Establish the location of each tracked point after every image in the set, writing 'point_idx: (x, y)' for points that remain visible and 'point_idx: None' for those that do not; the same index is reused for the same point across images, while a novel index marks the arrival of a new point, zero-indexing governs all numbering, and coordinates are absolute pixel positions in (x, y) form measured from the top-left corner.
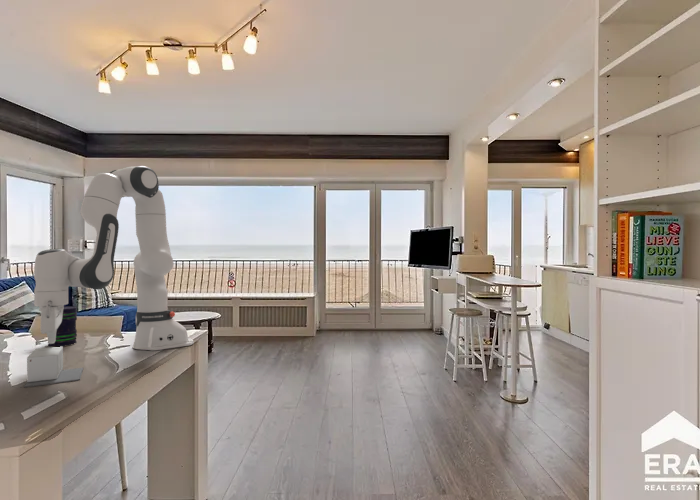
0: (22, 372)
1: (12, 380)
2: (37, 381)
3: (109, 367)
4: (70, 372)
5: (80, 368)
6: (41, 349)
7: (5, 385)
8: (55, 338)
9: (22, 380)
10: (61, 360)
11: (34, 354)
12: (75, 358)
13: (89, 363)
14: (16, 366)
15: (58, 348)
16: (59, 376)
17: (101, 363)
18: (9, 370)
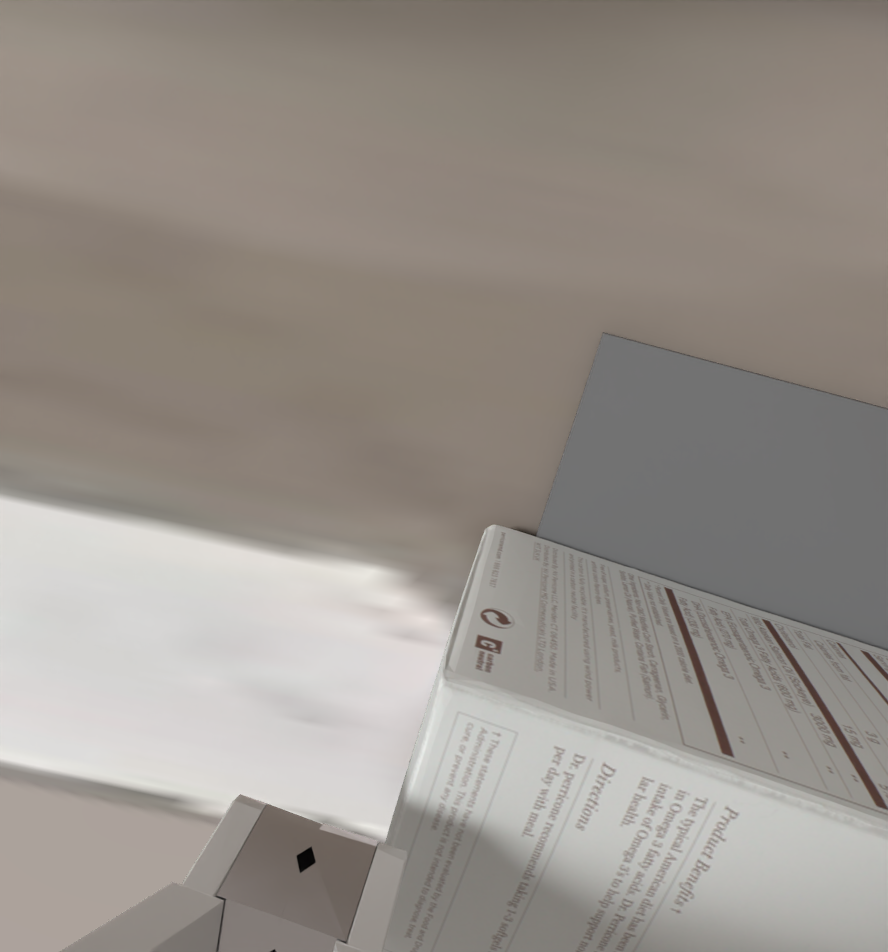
0: (321, 760)
1: None
2: None
3: (824, 6)
4: (740, 499)
5: (629, 370)
6: (505, 943)
7: None
8: (260, 864)
9: None
10: (643, 631)
11: None
12: (2, 293)
13: (360, 208)
14: (72, 740)
15: (606, 780)
16: (832, 620)
17: (471, 65)
18: (185, 799)
